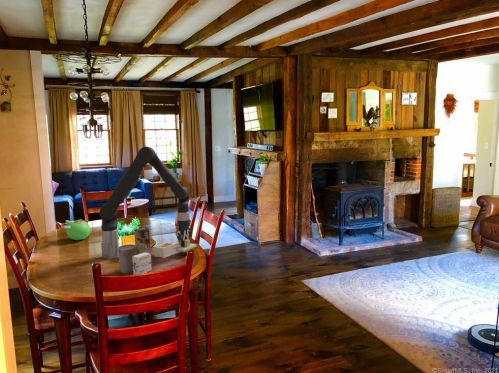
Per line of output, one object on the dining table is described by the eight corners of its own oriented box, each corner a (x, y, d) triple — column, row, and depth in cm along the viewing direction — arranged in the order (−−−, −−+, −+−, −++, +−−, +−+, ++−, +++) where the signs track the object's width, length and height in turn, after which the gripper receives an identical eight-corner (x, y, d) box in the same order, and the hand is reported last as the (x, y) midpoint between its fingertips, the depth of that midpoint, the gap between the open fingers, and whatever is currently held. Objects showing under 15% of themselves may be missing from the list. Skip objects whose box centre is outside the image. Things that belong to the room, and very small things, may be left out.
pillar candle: (139, 267, 225) (138, 241, 223) (135, 273, 215) (133, 246, 213) (122, 268, 224) (120, 242, 222) (117, 274, 215) (115, 247, 213)
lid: (184, 252, 240) (183, 243, 239) (173, 250, 244) (172, 241, 243) (196, 247, 250) (196, 238, 249) (185, 245, 254) (185, 236, 254)
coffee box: (150, 251, 253) (149, 227, 251) (150, 254, 247) (149, 229, 244) (135, 253, 250) (134, 228, 248) (135, 256, 244) (134, 231, 242)
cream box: (163, 258, 240) (163, 248, 239) (154, 256, 244) (153, 246, 243) (176, 253, 249) (175, 243, 249) (166, 251, 254) (166, 242, 253)
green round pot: (90, 241, 280) (89, 221, 278) (64, 244, 274) (62, 223, 272) (90, 235, 297) (89, 216, 295) (66, 237, 291) (64, 218, 289)
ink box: (146, 272, 216) (145, 251, 214) (152, 274, 213) (151, 253, 211) (133, 277, 210) (131, 255, 208) (138, 279, 206) (137, 257, 205)
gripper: (180, 221, 237) (181, 249, 239) (195, 217, 248) (196, 243, 251) (171, 220, 240) (172, 248, 243) (186, 216, 252) (187, 242, 255)
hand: (184, 245), depth 247 cm, fingers closed on lid, 2 cm apart
